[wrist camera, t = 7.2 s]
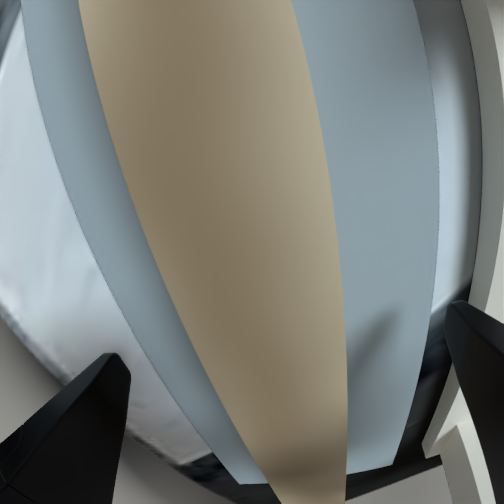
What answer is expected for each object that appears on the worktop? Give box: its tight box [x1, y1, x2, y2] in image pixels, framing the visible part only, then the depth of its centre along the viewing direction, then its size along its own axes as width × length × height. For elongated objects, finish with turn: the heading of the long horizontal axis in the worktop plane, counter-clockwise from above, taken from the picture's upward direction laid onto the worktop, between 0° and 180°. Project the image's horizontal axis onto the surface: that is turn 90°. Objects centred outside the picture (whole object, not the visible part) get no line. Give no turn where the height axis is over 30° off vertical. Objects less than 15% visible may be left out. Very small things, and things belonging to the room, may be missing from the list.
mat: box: [21, 0, 439, 484], centre depth 10 cm, size 10×30×1 cm, turn 13°
